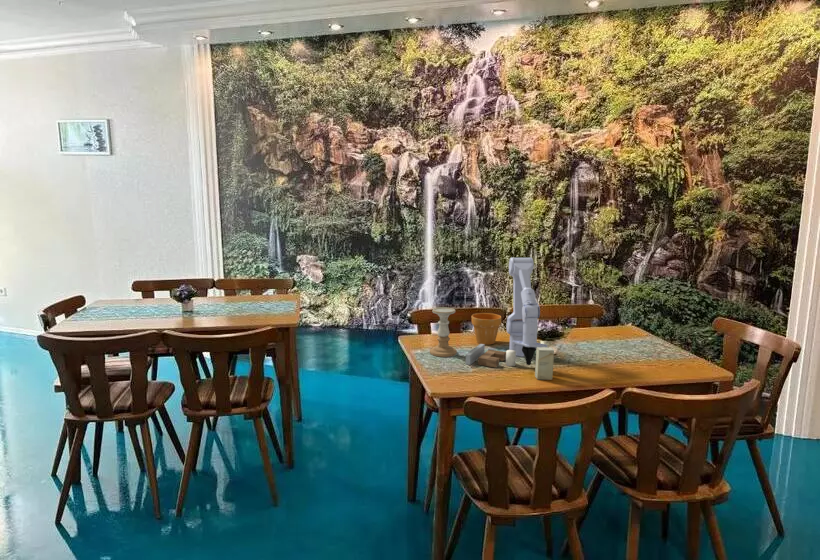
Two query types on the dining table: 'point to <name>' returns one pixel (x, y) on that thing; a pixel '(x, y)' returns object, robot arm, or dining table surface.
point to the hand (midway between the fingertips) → (528, 364)
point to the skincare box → (544, 363)
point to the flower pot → (486, 327)
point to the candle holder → (443, 334)
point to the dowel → (510, 357)
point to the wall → (475, 354)
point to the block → (491, 358)
